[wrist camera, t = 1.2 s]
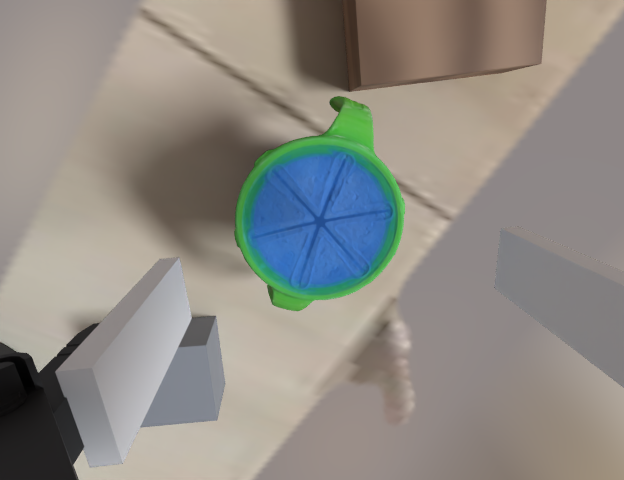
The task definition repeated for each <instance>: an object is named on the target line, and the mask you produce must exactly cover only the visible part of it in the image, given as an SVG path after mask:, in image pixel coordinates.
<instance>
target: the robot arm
mask: <svg viewBox="0 0 624 480" xmlns="http://www.w3.org/2000/svg"><path fill="white" fill-rule="evenodd" d="M494 288H495V289H496V290H498V291H499V292H500V293H501V294H503V295H504V296H505V297H506V298H508V299H509V300H510V301H512V302H513V303H514V304H516V305H517V306H518V307H519V308H521V309H522V310H524V311H525V312H526V313H527V314H529V315H530V316H531V317H533V318H534V319H535V320H537V321H538V322H539V323H540V324H542V325H543V326H544V327H545V328H547V329H548V330H549V331H551V332H552V333H553V334H555V335H556V336H557V337H558V338H560V339H561V340H562V341H564V342H565V343H566V344H568V345H569V346H570V347H571V348H573V349H574V350H576V351H577V352H578V353H579V354H581V355H582V356H583V357H584V358H586V359H587V360H588V361H590V362H591V363H592V364H594V365H595V366H596V367H598V368H599V369H600V370H602V371H603V372H604V373H605V374H607V375H608V376H609V377H611V378H612V379H613V380H614V381H616V382H617V383H618V384H620V385H621V386H622V387H624V271H621V270H619V269H617V268H614V267H612V266H609V265H607V264H605V263H603V262H600V261H598V260H596V259H593V258H591V257H588V256H586V255H584V254H582V253H579V252H577V251H575V250H572V249H570V248H568V247H565V246H563V245H561V244H558V243H556V242H554V241H551V240H549V239H547V238H544V237H542V236H539V235H537V234H535V233H532V232H530V231H528V230H525V229H523V228H521V227H508V228H501V231H500V240H499V250H498V260H497V269H496V278H495V287H494ZM191 319H192V317H191V312H190V307H189V302H188V297H187V292H186V287H185V282H184V277H183V272H182V267H181V263H180V258H179V257H177V258H166V259H159V260H158V261H157V262H156V264H155V265H154V266H153V267H152V268H151V269H150V270H149V271H148V272H147V273H146V274H145V275H144V276H143V278H142V279H141V280H140V281H139V282H138V283H137V284H136V285H135V286H134V287H133V288H132V289H131V290H130V292H129V293H128V294H127V295H126V296H125V297H124V298H123V299H122V300H121V301H120V302H119V303H118V304H117V306H116V307H115V308H114V309H113V310H112V311H111V312H110V313H109V314H108V315H107V316H106V317H105V318H104V320H103V321H102V322H101V323H97V324H93V325H91V326H89V327H88V328H86V329H85V330H83V331H81V332H80V333H78V334H77V335H76V336H75V337H74V338H73V339H72V340H71V341H70V342H69V343H68V344H67V345H66V347H64V348H63V349H62V350H61V351H60V352H59V353H58V354H57V357H54V358H53V359H52V360H51V361H50V362H49V363H48V364H47V365H46V366H45V367H44V368H43V369H42V370H41V371H40V372H39V373H38V372H37V369H36V367H35V364H34V362H33V359H32V357H31V356H30V355H29V354H27V353H19V352H17V353H16V352H15V351H13V350H12V349H10V348H8V347H7V346H5V345H3V344H1V343H0V480H79V479H78V477H77V474H76V471H75V469H74V466H73V464H74V463H75V461H76V459H77V458H78V456H79V455H80V453H81V451H82V450H84V453H85V455H86V458H87V461H88V464H89V466H90V467H98V466H107V465H115V464H123V462H124V460H125V458H126V456H127V454H128V452H129V449H130V447H131V445H132V443H133V441H134V439H135V437H136V435H137V433H138V431H139V428H140V426H141V424H142V422H143V420H144V418H145V416H146V414H147V412H148V410H149V407H150V405H151V403H152V401H153V399H154V397H155V395H156V393H157V391H158V388H159V386H160V384H161V382H162V380H163V378H164V376H165V374H166V372H167V370H168V367H169V365H170V363H171V361H172V359H173V357H174V355H175V353H176V351H177V349H178V346H179V344H180V342H181V340H182V338H183V336H184V334H185V332H186V330H187V327H188V325H189V323H190V321H191Z"/></svg>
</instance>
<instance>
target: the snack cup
mask: <svg viewBox="0 0 624 480" xmlns="http://www.w3.org/2000/svg"><path fill="white" fill-rule="evenodd" d="M330 105H331V107H332V108H333V109H334V110H335V111H337V112H339V114H338V116H337V117H336V119H335V120H334V122H333V124H332V125H331V127H330V128H329V129H328V130H327V131H326V132H325V133H324V134H322V135H319V136H310V137H304V138H300V139H296V140H293V141H290V142H288V143H285V144H283V145H281V146H279V147H277V148H276V149H273V150H268V151H266V152H265V153H264V154H262V155H261V156H260V157H259V158H258V159H257V160H256V161H255V163H254V168H253V169H252V171H251V172H250V173H249V175H248V177H247V179H246V180H245V182H244V184H243V186H242V188H241V191H240V194H239V197H238V200H237V205H236V212H235V227H236V229H235V231H234V235H235V240H236V243H237V246H238V247H239V248H240V249H241V252H242V254H243V256H244V258H245V260H246V261H247V263H248V264H249V266H250V267H251V269H252V270H253V271H254V272H255V273H256V274H257V275H258V276H259V277H260V278H261V279H262V280H263V281H264V282H265V283H267V284H268V285H267V288H268V293H269V296H270V299H271V302H272V304H273V305H274V306H277V307H280V308H283V309H287V310H291V311H300V310H302V309H304V308H306V307H307V306H308V305H309V304H310V303H311V302H312V301H314V300H328V299H334V298H338V297H342V296H345V295H349V294H351V293H353V292H356V291H357V290H359V289H361V288H362V287H364V286H365V285H367V284H369V283H370V282H372V281H373V280H374V279H375V278H376V277H377V276H378V275H379V274H380V273H381V272H382V271H383V270H384V269H385V267H386V266H387V265H388V263H389V262H390V261H391V259H392V258H393V256H394V255H395V252H396V250H397V248H398V245H399V242H400V240H401V235H402V231H403V225H404V214H405V203H404V200H403V198H402V197H401V193H400V190H399V187H398V185H397V183H396V180H395V179H394V177H393V175H392V174H391V172H390V171H389V169H388V168H387V167H386V166H385V165H384V164H383V162H382V161H381V160H380V159H379V158H378V157H377V156H376V155H375V153H374V147H373V120H372V115H371V111H370V109H369V108H368V107H367V106H365V105H364V104H360V103H357V102H355V101H352V100H350V99H348V98H345V97H340V96H338V97H334V98H332V99H331V100H330Z"/></svg>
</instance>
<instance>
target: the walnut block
mask: <svg viewBox="0 0 624 480" xmlns="http://www.w3.org/2000/svg"><path fill="white" fill-rule="evenodd" d="M342 5H343V17H344V30H345V43H346V55H347V68H348V81H349V92H351V91H360V90H368V89H376V88H384V87H392V86H400V85H408V84H416V83H424V82H433V81H441V80H449V79H457V78H465V77H473V76H481V75H489V74H498V73H504V72H508V71H512V70H517V69H521V68H525V67H529V66H533V65H537V64H541V61H542V49H543V37H544V25H545V12H546V0H342Z"/></svg>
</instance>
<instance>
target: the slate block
mask: <svg viewBox="0 0 624 480" xmlns="http://www.w3.org/2000/svg"><path fill="white" fill-rule="evenodd" d="M224 387H225V378H224V371H223V364H222V356H221V349H220V341H219V334H218V327H217V319H216V316H210V317H196V318H192V319H191V321H190V323H189V325H188V327H187V330H186V332H185V334H184V336H183V338H182V340H181V342H180V344H179V346H178V349H177V351H176V353H175V355H174V357H173V359H172V361H171V363H170V365H169V367H168V370H167V372H166V374H165V376H164V378H163V380H162V382H161V384H160V386H159V388H158V391H157V393H156V395H155V397H154V399H153V401H152V403H151V405H150V407H149V410H148V412H147V414H146V416H145V418H144V420H143V422H142V424H141V426H140V427H150V426H161V425H172V424H182V423H193V422H204V421H215V420H217V419H218V415H219V410H220V405H221V401H222V396H223V392H224Z"/></svg>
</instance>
